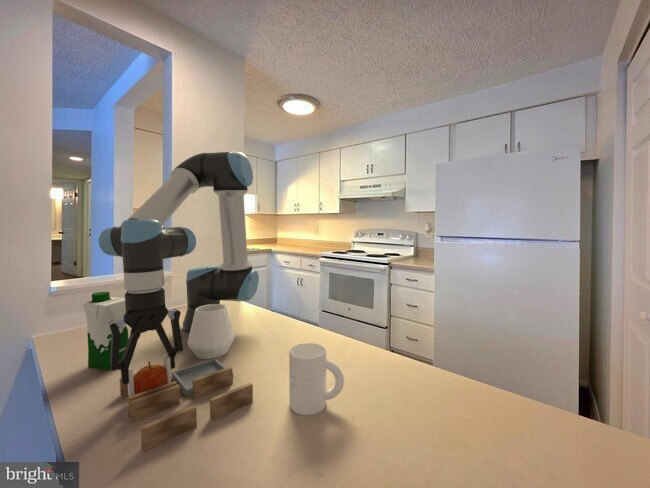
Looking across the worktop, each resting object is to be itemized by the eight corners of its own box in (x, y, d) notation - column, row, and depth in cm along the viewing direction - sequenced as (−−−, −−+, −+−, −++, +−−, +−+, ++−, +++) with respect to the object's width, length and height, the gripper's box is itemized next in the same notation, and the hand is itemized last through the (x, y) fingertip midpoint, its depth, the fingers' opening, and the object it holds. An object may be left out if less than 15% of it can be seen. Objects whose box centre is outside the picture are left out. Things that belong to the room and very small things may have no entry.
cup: (243, 346, 94) (242, 303, 93) (215, 365, 81) (213, 316, 80) (209, 341, 98) (208, 300, 97) (177, 358, 85) (176, 311, 85)
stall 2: (178, 402, 64) (178, 384, 64) (196, 427, 56) (196, 407, 56) (130, 420, 58) (129, 401, 58) (142, 452, 50) (141, 429, 50)
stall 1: (163, 380, 73) (163, 365, 73) (177, 400, 65) (176, 382, 64) (120, 395, 67) (119, 378, 66) (129, 418, 59) (128, 399, 58)
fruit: (173, 395, 66) (171, 361, 66) (137, 409, 61) (136, 373, 61) (162, 384, 71) (161, 352, 70) (129, 396, 66) (127, 362, 65)
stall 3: (230, 382, 72) (230, 366, 72) (252, 401, 64) (252, 384, 64) (193, 396, 66) (192, 379, 66) (212, 420, 58) (211, 401, 58)
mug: (340, 422, 58) (340, 363, 57) (283, 413, 60) (283, 356, 60) (346, 398, 66) (347, 346, 65) (296, 391, 68) (296, 341, 68)
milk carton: (111, 355, 87) (108, 289, 86) (137, 358, 85) (134, 290, 84) (81, 369, 79) (77, 296, 77) (109, 372, 77) (105, 298, 76)
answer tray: (215, 363, 82) (215, 358, 82) (233, 379, 74) (233, 373, 73) (172, 378, 74) (171, 372, 74) (186, 396, 66) (186, 390, 66)
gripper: (186, 280, 74) (189, 368, 75) (86, 293, 60) (94, 399, 62) (196, 285, 68) (200, 379, 70) (90, 301, 55) (98, 417, 57)
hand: (150, 388), depth 66 cm, fingers closed on fruit, 6 cm apart
